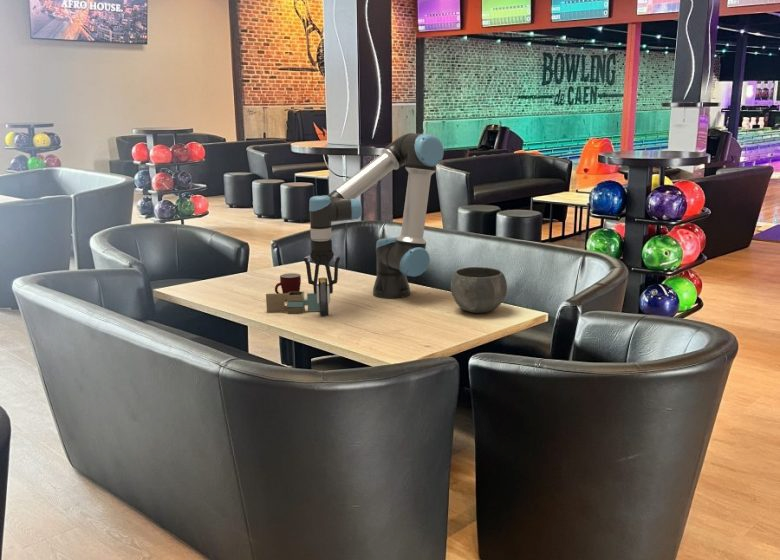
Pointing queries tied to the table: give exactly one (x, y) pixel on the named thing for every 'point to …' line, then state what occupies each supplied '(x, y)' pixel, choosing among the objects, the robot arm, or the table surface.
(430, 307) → the table surface
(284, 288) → the mug
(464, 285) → the bowl
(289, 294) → the square hinge knuckle
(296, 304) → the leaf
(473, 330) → the table surface
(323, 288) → the pin
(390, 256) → the robot arm
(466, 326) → the table surface
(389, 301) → the table surface
